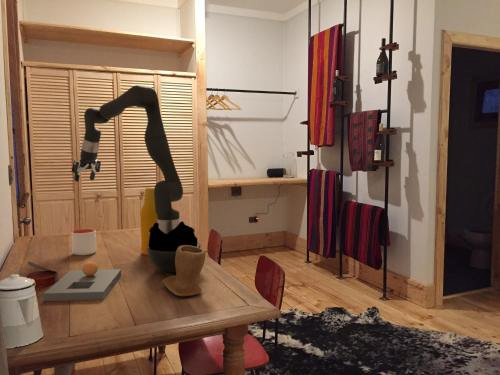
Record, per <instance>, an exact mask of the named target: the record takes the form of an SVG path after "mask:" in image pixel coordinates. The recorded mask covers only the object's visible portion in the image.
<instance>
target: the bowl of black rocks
mask: <svg viewBox="0 0 500 375" xmlns="http://www.w3.org/2000/svg"><path fill="white" fill-rule="evenodd" d="M149 232H150V236H149V245H148V246H147V252H148V255H147V256H148V258H149V260H150V261H151V263H152V264H153V265H154V266H155V267H156V268H158V269H159V270H161V271H164V272H168V273H176V267H175V256H176V250H177V249H178V247H180V246H183V245H189V246H194V247H198V248H201V243H199V241H198V238H197V236H196V234H195V229H194V228H193V227H192V226H189V225H187V224H185V222H184V221H181V220H180V223H179V225H177V227H176V228H175V229H173V230H172V231H170V232H169V233H168V234H165V233H164V232H163V231H161V230H160V229H159V223H157V222H156V223H154V224H153V226H152V227H151V228H150V230H149Z"/></svg>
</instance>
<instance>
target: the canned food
mask: <svg viewBox="0 0 500 375" xmlns="http://www.w3.org/2000/svg"><path fill="white" fill-rule="evenodd" d="M27 265H29V266H30V267H32V268H35V269H39V270H37V271H35V272H31V273H29V274H27V275H26V279H27V278H31V279H34V280H35V282H36V286H37V287H36V288H40V287H39V286H43V287H48V286H51V285H52V286H53V285H54V284H55V283H57V282H58V281H59V275H58V274H59V273H58V271H57V270H52V269H48V268H45V267H44V266H40V265H39V264H36V263H34V262H32V261H27Z"/></svg>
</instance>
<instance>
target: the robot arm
mask: <svg viewBox="0 0 500 375" xmlns="http://www.w3.org/2000/svg"><path fill="white" fill-rule="evenodd" d="M135 107H136V108H140V109H141V108H142V109H144V110H145V113H146V117H147V118H146V119H147V125H146V129H145V131H144V137H143V138H144V139H143V140H144V143H145V147H146V152H147V153H148V155H149V157H150V158H151V160H152V161H153V163H155V165H157V167H158V168H159V170H160V171H161V172H162V176H163V179H164V180H160V181H158V182H156V184H155V185H154V187H153V188H154V200H155V211H156V214H157V223H159V229H160V230H161V231H163V232H164V233H165V234H168V233H169V232H170V231H172V230H173V229H175V228H176V227H177V225H179V223H180V222H181V219H180V218H181V217H180V216H181V215H180V214H181V213H180V211H179V210H176V209H174V208H173V206H172V203H173V202H179V201H181V199H182V198H183V195H184V188H183V184H182V181H181V178H180V176H179V174H178V171H177V169H176V166H175V163H174V159H173V155H172V153H171V149H170V144H169V141H168V137H167V135H166V131H165V127H164V122H163V119H162V114H161V109H160V102H159V98H158V93H157V91H156V89H154V88H153V87H151V86H146V85H141V84H139V85H137V84H136V85H133V86H132V87H130V88H128V89H127V90H126V91H125V92H123V93H121V94H120V95H119V96H118V97H117V98H115V99H112V100H110V101H107V102H106V103H103V104H102V105H100V107H99V108H95V107H89V108H87V109H86V110H85V111H84V115H83V118H84V128H85V131H84V138H83V141H82V145H81V150H80V155H79V157H80V158H79V160H76V159H74V160H73V163H72V166H71V173H73V174H74V177H73V180H74V182H78V183H79V182H80V174H81V173H82V172H84V171H86V170H89V171H90V173H89V174H90V175H89V180H90V181H94V180H95V177H96V174H97V173H100V171H101V164H102V161H101V160H99V159H98V154H99V149H100V141H101V135H102V131H101V129H99V128H98V127H95V125H99V124H101V125H103V124H107V123H108V122H109V121H110V120H111V119H114V118H115V117H118V116H120V115H122V113H124V112H125V110H126V109H128V108H135Z"/></svg>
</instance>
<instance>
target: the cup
mask: <svg viewBox="0 0 500 375" xmlns="http://www.w3.org/2000/svg"><path fill="white" fill-rule="evenodd" d="M71 249H72V250H71V251H72V254H73V255H74V256H75V255H76V256H88V255H89V256H90V255H92V254H95V253H96V252H97V232H96V229H93V228H84V229H83V228H82V229H75V230H73V231H71Z"/></svg>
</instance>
